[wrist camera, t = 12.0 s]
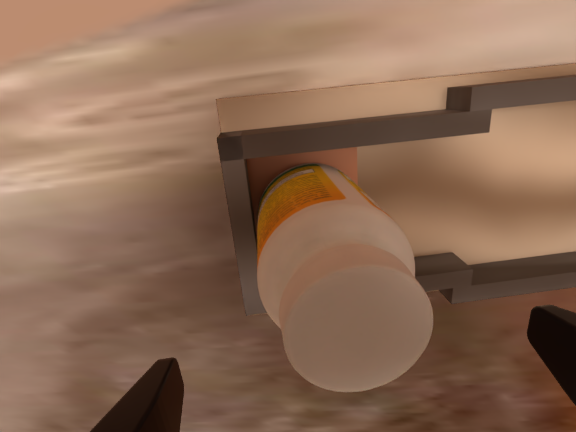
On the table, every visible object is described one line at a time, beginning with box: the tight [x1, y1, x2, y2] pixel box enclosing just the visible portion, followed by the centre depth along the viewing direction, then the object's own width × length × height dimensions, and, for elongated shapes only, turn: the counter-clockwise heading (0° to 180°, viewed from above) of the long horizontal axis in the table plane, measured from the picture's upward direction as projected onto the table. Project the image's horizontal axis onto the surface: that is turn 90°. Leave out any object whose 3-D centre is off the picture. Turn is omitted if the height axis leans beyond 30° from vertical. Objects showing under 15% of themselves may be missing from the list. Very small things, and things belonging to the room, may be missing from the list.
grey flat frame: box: [216, 63, 576, 316], centre depth 17 cm, size 12×22×3 cm, turn 95°
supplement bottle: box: [257, 163, 433, 392], centre depth 13 cm, size 5×5×10 cm
